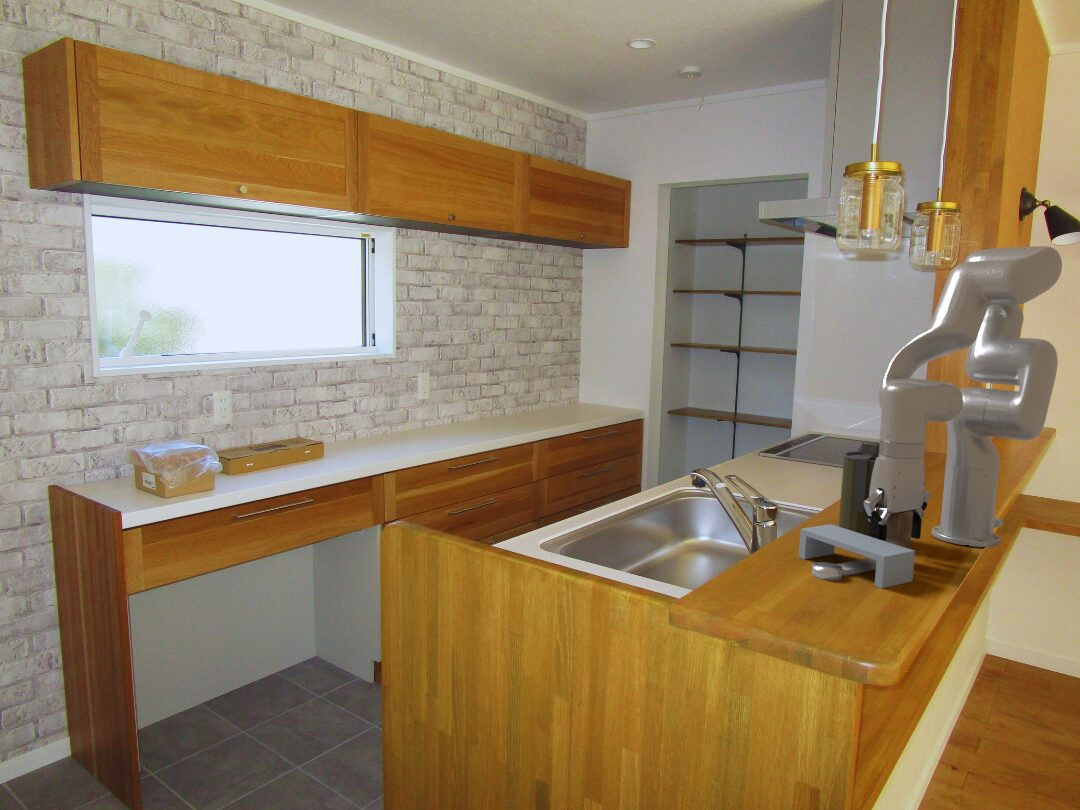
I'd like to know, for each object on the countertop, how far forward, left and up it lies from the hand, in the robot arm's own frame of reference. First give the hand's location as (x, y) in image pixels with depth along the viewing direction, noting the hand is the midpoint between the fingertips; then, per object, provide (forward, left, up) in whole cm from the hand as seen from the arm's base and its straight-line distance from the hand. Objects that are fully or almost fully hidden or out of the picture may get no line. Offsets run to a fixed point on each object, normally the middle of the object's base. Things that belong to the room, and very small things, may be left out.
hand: (894, 540), depth 140 cm
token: (+18, 0, -4) cm, 18 cm away
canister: (-8, -12, -4) cm, 15 cm away
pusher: (+6, 0, -4) cm, 8 cm away
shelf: (+10, 0, -4) cm, 11 cm away
